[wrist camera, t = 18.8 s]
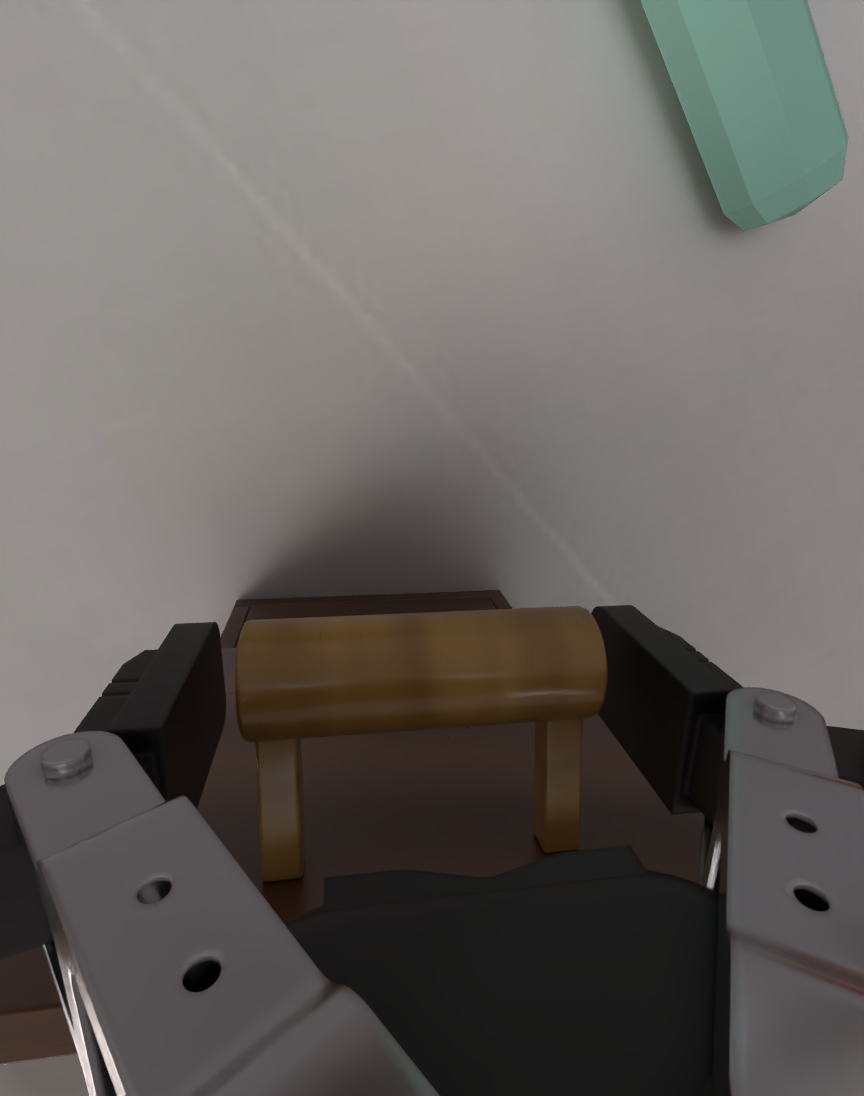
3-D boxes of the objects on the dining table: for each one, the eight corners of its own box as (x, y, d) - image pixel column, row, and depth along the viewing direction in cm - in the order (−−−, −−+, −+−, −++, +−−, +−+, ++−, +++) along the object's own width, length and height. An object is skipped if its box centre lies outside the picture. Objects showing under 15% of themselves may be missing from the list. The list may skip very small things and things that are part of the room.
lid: (858, 948, 10) (887, 630, 9) (-71, 1077, 8) (-125, 684, 7) (536, 650, 26) (538, 529, 25) (210, 667, 24) (203, 537, 23)
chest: (486, 827, 36) (512, 910, 31) (258, 849, 34) (242, 942, 29) (500, 589, 32) (533, 637, 26) (236, 599, 30) (212, 653, 24)
